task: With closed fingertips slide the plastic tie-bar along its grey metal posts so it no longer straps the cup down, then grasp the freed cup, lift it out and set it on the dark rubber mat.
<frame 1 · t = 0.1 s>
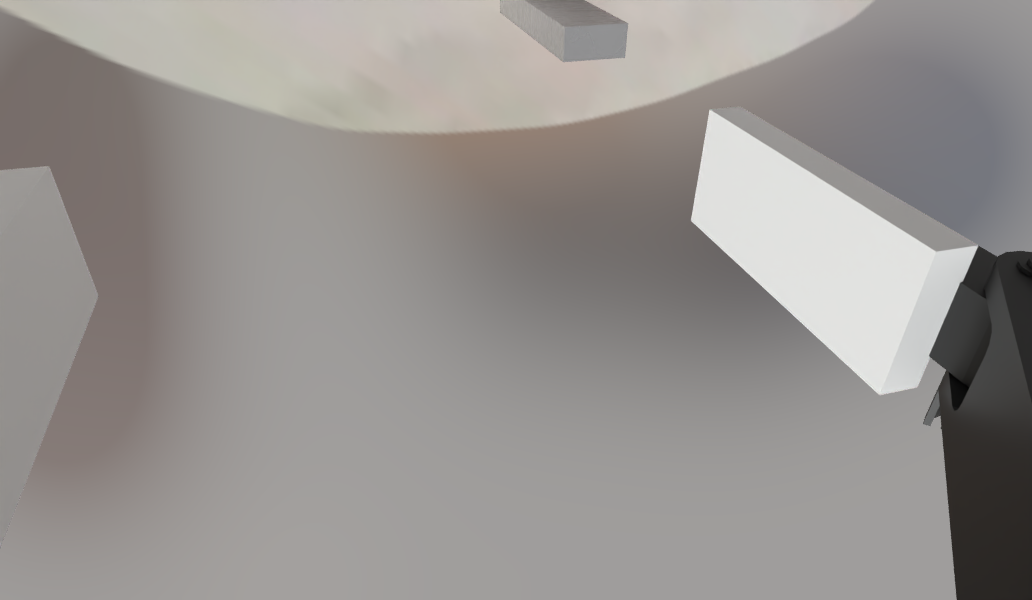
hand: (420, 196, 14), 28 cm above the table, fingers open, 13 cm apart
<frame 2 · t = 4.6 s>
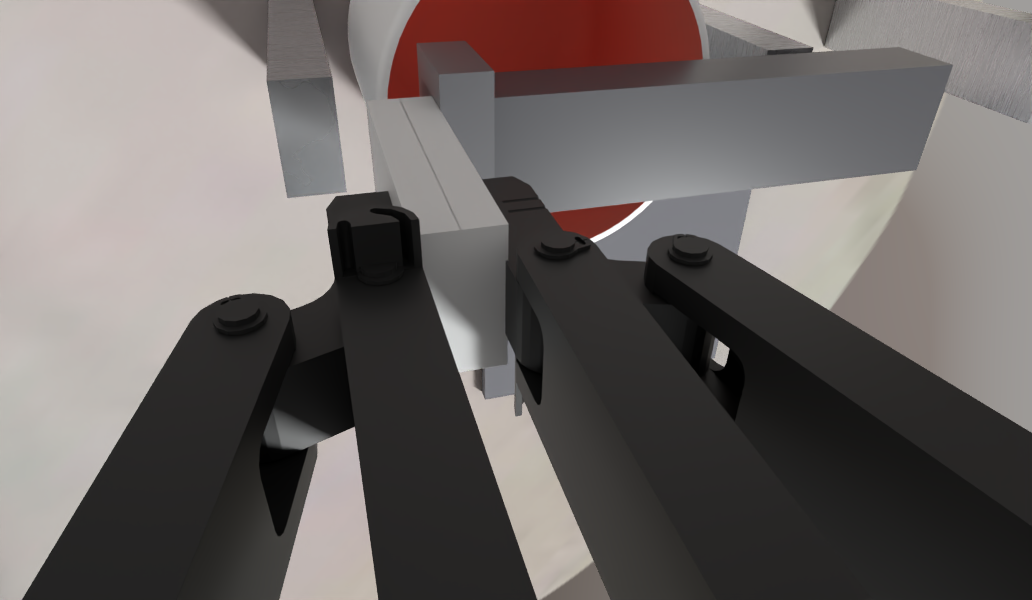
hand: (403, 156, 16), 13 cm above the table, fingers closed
cup: (471, 28, 28), on the table
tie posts: (627, 22, 29), on the table
mat: (612, 266, 36), on the table
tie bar: (691, 127, 19), point 13 cm above the table, slide at 1.8 cm, touching gripper
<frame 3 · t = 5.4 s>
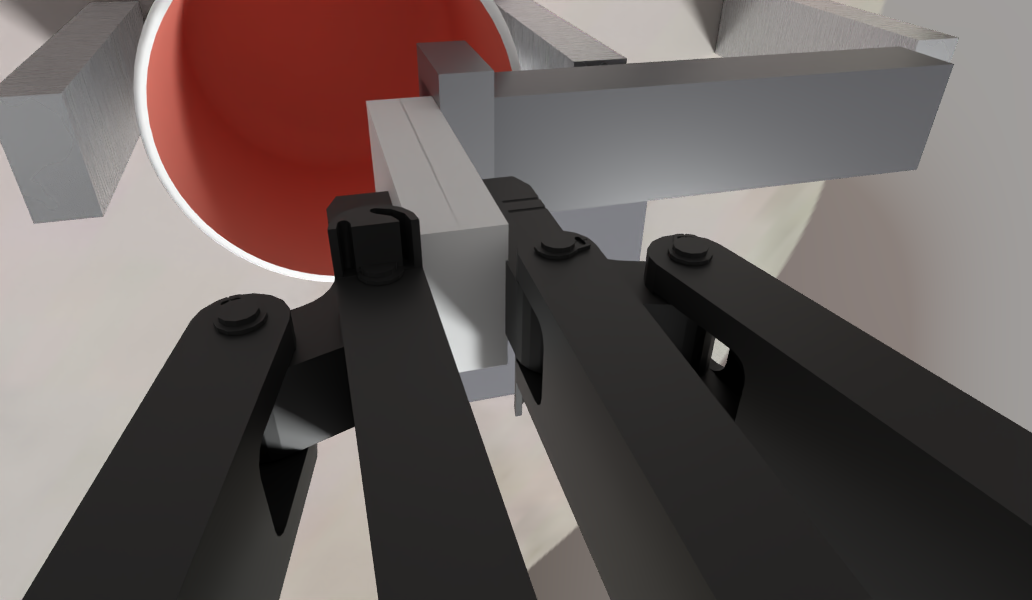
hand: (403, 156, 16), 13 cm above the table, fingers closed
cup: (323, 35, 27), on the table
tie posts: (494, 28, 28), on the table
mat: (504, 280, 35), on the table
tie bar: (691, 127, 19), point 12 cm above the table, slide at 7.6 cm, touching gripper
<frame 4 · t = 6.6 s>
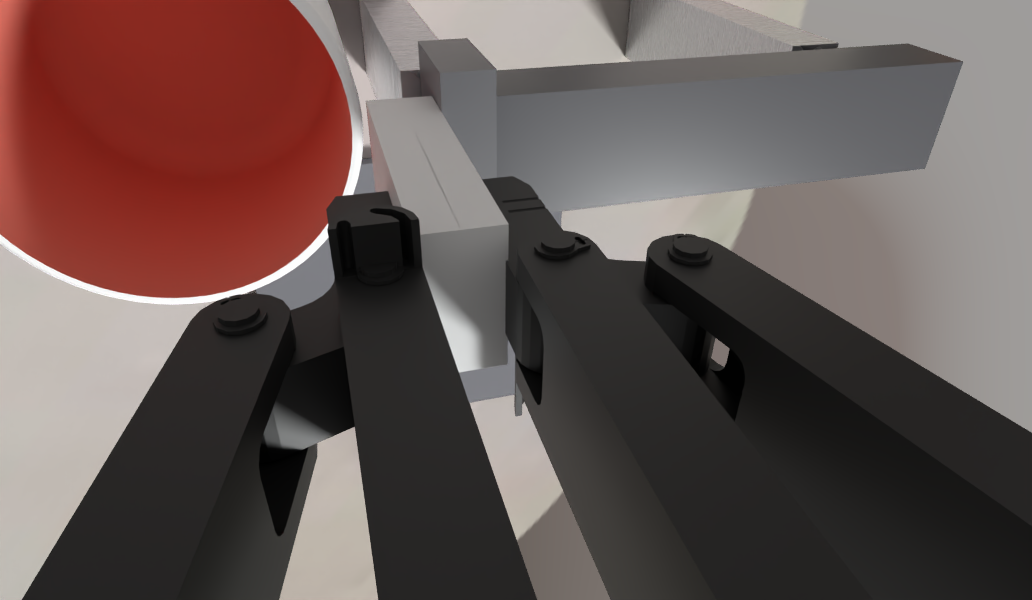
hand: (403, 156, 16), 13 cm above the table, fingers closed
cup: (196, 40, 25), on the table
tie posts: (382, 32, 27), on the table
mat: (415, 293, 33), on the table
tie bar: (696, 126, 18), point 13 cm above the table, slide at 12.2 cm, touching gripper
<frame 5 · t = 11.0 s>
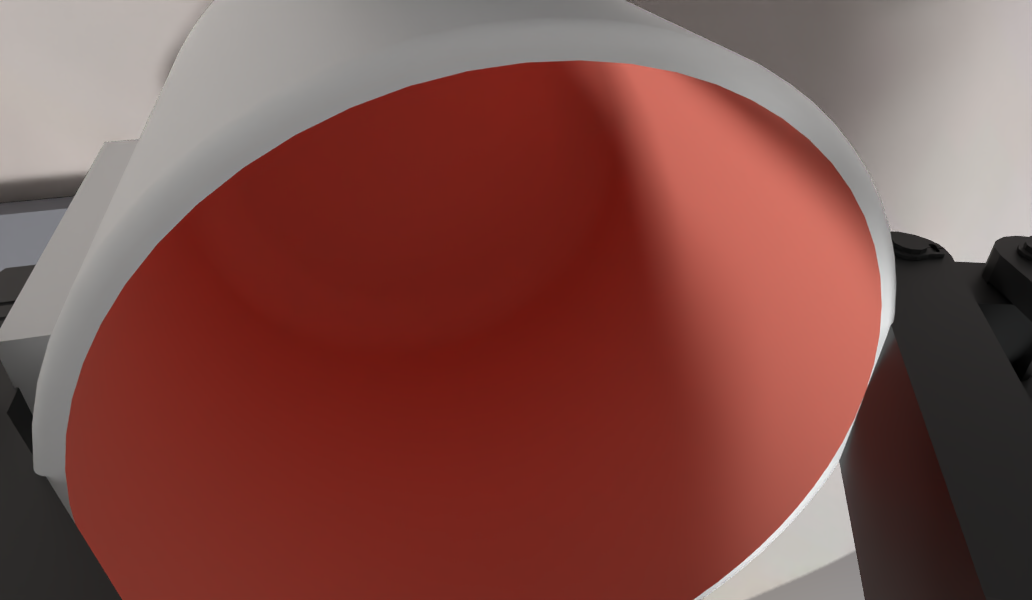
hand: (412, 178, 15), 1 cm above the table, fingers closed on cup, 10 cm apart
cup: (403, 153, 16), on the table, touching gripper
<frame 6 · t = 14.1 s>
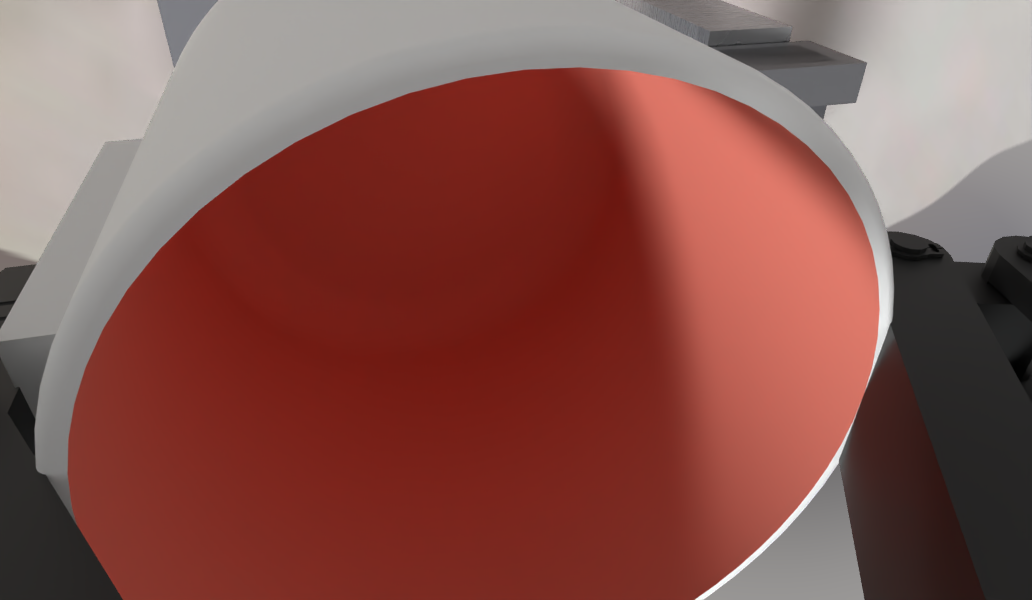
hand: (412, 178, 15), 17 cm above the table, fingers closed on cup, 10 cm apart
cup: (403, 155, 16), point 16 cm above the table, touching gripper
mat: (347, 16, 29), on the table
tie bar: (733, 253, 25), point 12 cm above the table, slide at 12.2 cm
when the fingers open (4 cm above the table, at t = 17.0 s): cup drops 2 cm, resting on mat.
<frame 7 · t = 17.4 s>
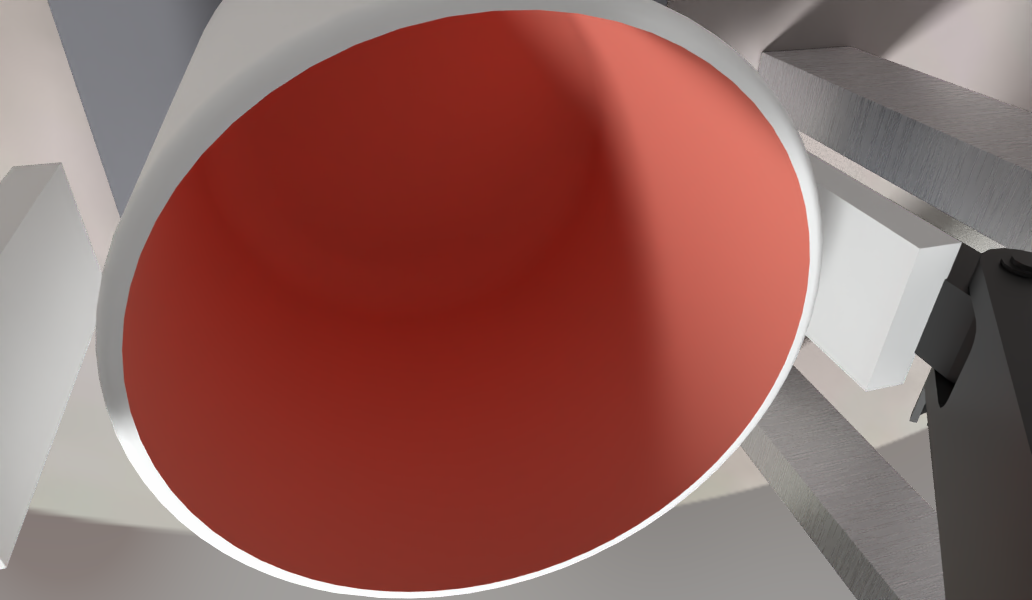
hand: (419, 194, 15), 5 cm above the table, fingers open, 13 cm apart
cup: (404, 129, 18), resting on mat
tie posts: (801, 75, 21), on the table
mat: (399, 124, 18), on the table
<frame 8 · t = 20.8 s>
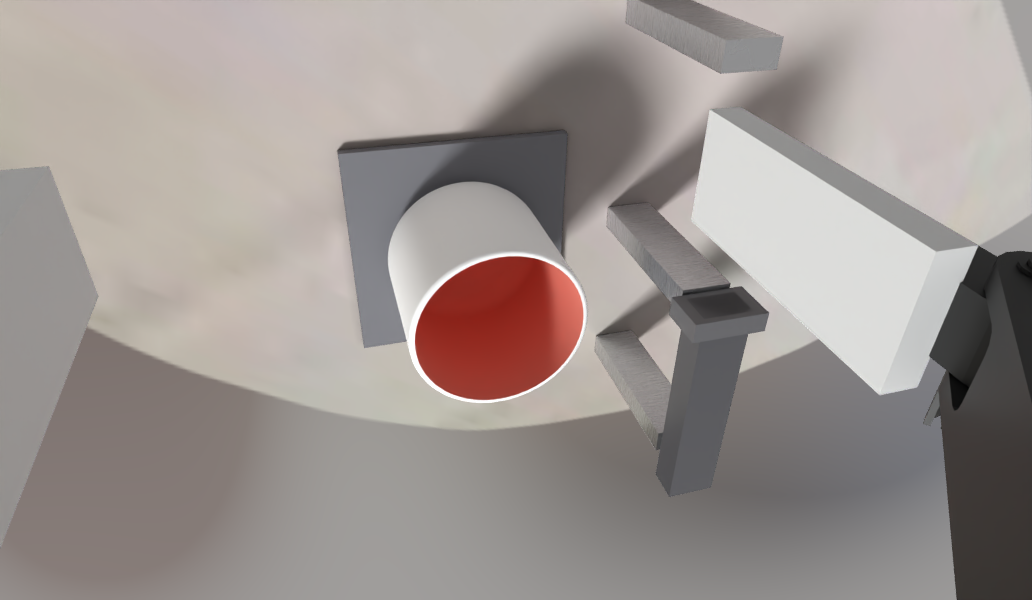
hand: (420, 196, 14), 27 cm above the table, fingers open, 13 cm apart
cup: (461, 244, 46), resting on mat
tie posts: (627, 214, 49), on the table
mat: (459, 241, 46), on the table
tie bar: (699, 400, 42), point 13 cm above the table, slide at 12.0 cm
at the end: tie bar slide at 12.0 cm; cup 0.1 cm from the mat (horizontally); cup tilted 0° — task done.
